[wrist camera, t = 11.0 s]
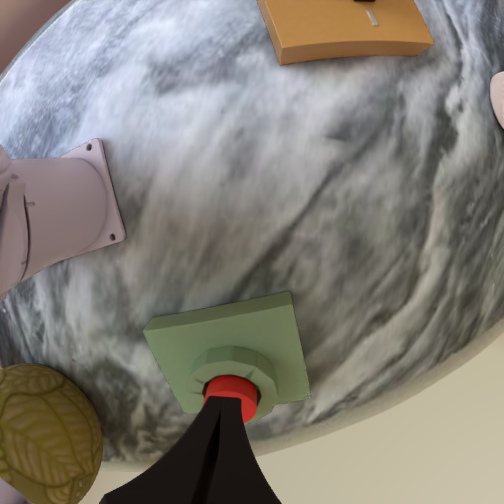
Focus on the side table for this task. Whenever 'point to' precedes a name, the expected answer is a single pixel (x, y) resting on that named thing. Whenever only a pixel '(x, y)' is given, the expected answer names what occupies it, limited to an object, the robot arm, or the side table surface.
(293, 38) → the brown panel
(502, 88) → the can
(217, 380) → the button
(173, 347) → the button box
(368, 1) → the black battery pack
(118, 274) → the side table surface
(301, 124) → the side table surface
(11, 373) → the decorative sculpture
